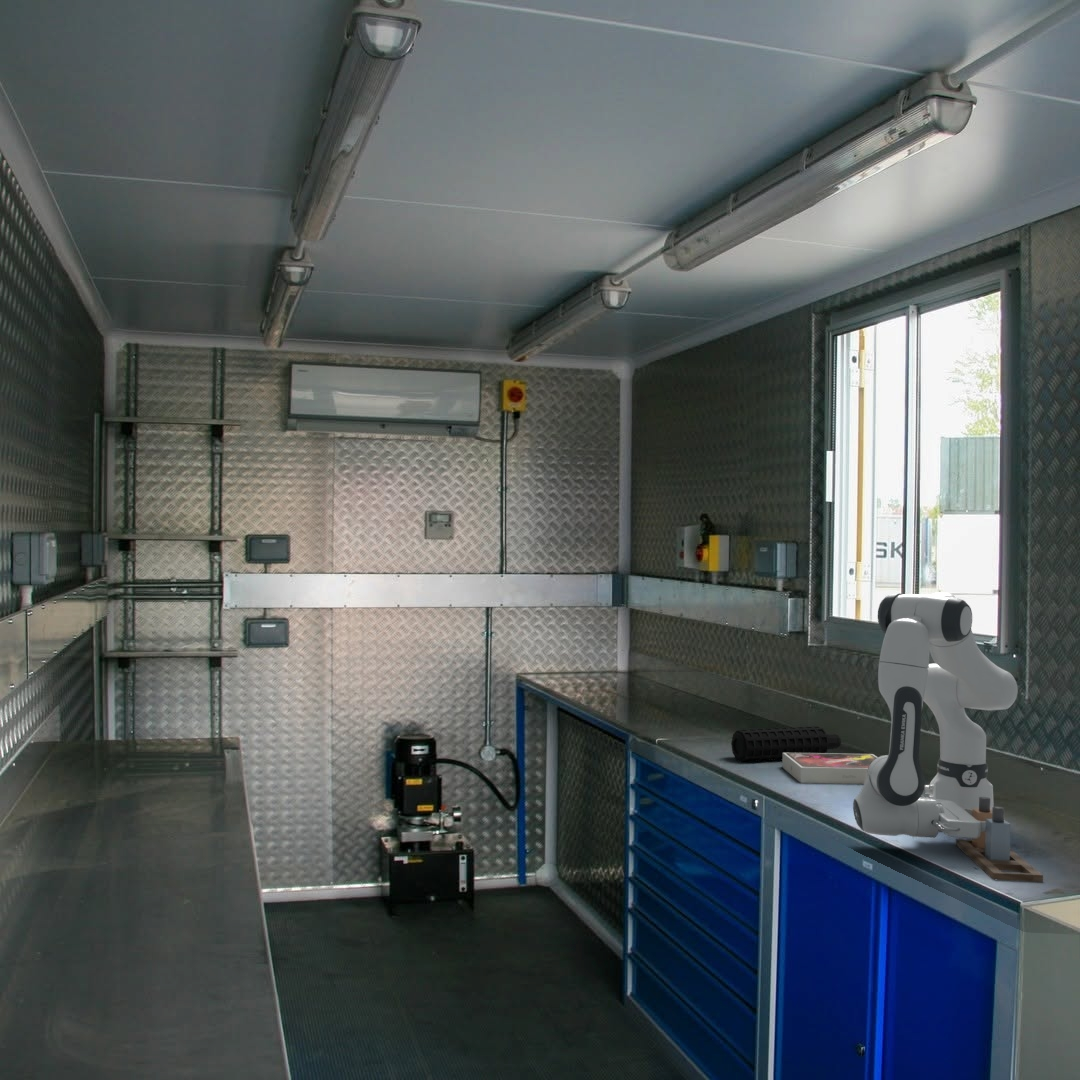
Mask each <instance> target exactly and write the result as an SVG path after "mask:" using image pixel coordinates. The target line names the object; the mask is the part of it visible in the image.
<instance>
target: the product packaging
mask: <svg viewBox="0 0 1080 1080" xmlns="http://www.w3.org/2000/svg"><path fill="white" fill-rule="evenodd" d="M877 757H878V756H877V755H875V754H873V753H833V752H832V753H831V752H830V753H828V752H827V753H783V759H782V764H781V765H782V768H783V769H784V770H785V771H786V772H787V773H788V774H790V775H791V776H792V777H793V778H794V779H796V780H797V781H798V783H800V784H837V785H838V784H840V785H841V784H843V785H848V784H849V785H850V784H851V785H864V782H865V779H866V776H867V771H868V767H869V765H870V763H871V762H872V761H873V760H874V759H876V758H877Z"/></svg>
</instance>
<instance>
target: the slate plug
mask: <svg viewBox="0 0 1080 1080" xmlns="http://www.w3.org/2000/svg"><path fill="white" fill-rule="evenodd" d="M1010 849H1011V823H1010V822H1008V821H1007V820H1006V819H1005V807H1002V806H994V807H992V819H986V826H985V858H987V859H988V860H1009V861H1010Z"/></svg>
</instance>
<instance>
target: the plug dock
mask: <svg viewBox="0 0 1080 1080" xmlns="http://www.w3.org/2000/svg"><path fill="white" fill-rule="evenodd" d="M955 845H956V847H958V848H959V849H960V850H961V851H962V852H963V854H965V855H966V856H968V857H969V859H970V860H972V861H973V862H974V863H975V864H976V865H977V866H978V867H979V868H980V869H982V870H983V871H984V872H985V873H986V874H987V875H988V876H989V877H990V878H991V879H992V880H995V879H997V880H995V881H1019V882H1037V883H1043V882H1044V874H1042V873H1041V872H1040V871H1038V870H1037V869H1036V867H1035V868H1034V867H1033V866H1032V865H1031V864H1030V863H1028V862H1027V860H1025V859H1023V858H1022V857H1021V856H1020V855H1018V854H1017V853H1016V852H1015V851H1014V850H1012V849H1011V848H1010V861H1009V860H988V859H987V858H985V848H974V847H973V846H972V839H969V838H966V839H963V838H962V839H961V838H955ZM1003 871H1004V872H1003ZM1007 871H1008V872H1007ZM1009 871H1010V872H1009Z"/></svg>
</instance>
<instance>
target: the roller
mask: <svg viewBox="0 0 1080 1080" xmlns="http://www.w3.org/2000/svg"><path fill="white" fill-rule="evenodd" d="M841 745H842V738H841V737H840V735H839V734H835V733H827V732H826V731H825V729H824V728H823V727H821V726H804V727H803V726H802V727H801V726H800V727H799V726H798V727H797V726H796V727H780V728H779V727H775V728H757V729H756V728H755V729H754V728H753V729H737V730H736V731H734V733H732V737H731V745H730V746H731V752H732V754H733V756H734V758H735V760H736V761H738V762H740V763H744V762H745V763H747V762H762V761H763V762H764V761H765V762H767V761H768V762H769V761H780V760H782V759H783V753H828V751H829V750H834V749H838V748H839V747H840V746H841Z"/></svg>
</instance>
